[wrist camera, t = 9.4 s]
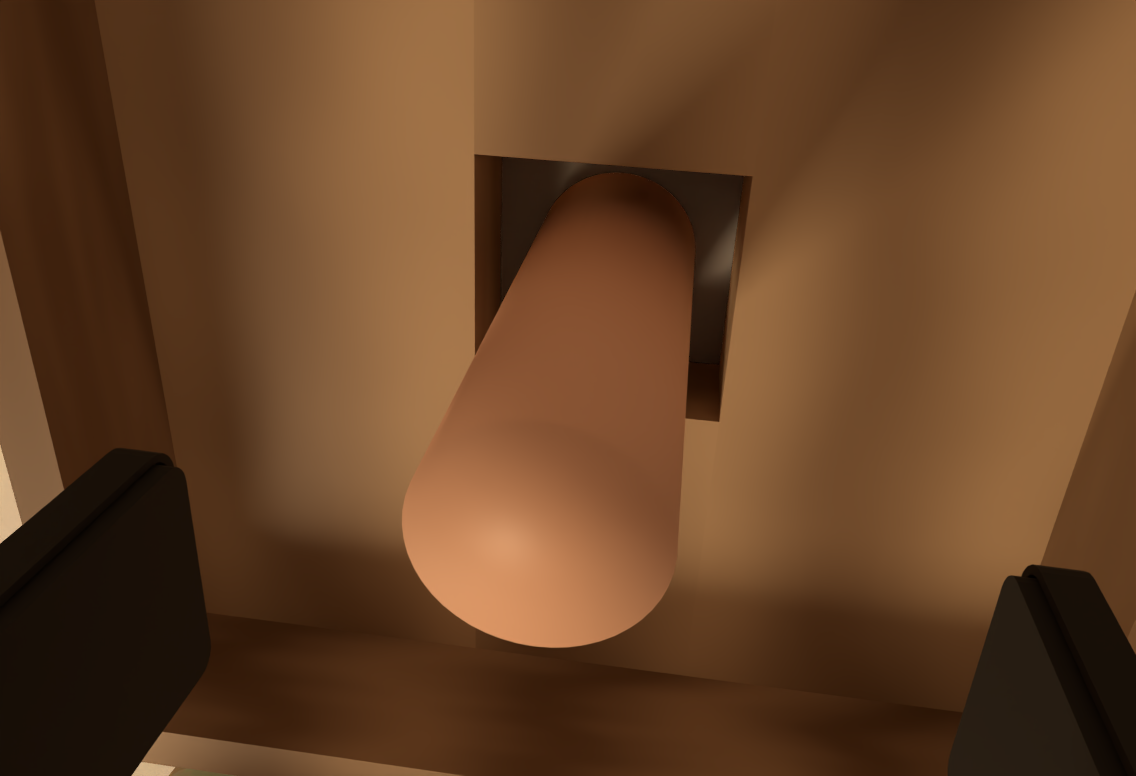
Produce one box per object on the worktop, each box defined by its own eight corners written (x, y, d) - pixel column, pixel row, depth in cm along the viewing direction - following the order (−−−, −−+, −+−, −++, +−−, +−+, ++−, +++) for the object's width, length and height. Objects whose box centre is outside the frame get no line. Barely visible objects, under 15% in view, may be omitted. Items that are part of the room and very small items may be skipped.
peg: (703, 178, 19) (691, 435, 10) (687, 327, 20) (663, 663, 12) (543, 166, 19) (395, 404, 10) (538, 313, 21) (406, 629, 12)
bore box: (1340, -340, 14) (1714, -474, 9) (994, 673, 23) (1074, 900, 18) (60, -371, 16) (-259, -495, 11) (216, 573, 25) (85, 753, 20)
